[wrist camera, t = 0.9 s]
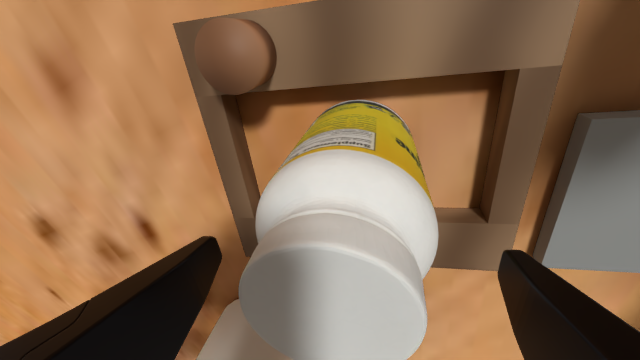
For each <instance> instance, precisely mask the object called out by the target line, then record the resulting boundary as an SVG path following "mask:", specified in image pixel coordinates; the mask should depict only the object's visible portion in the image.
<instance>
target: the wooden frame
mask: <svg viewBox="0 0 640 360" xmlns="http://www.w3.org/2000/svg"><path fill="white" fill-rule="evenodd" d="M579 2H580V0H317V1H311V2H305V3H299V4H292V5H286V6H280V7H273V8H267V9H261V10H255V11H248V12H242V13H236V14H230V15H223V16H217V17H211V18H204V19H198V20H192V21H186V22H179V23H173V26H174V29H175V32H176V35H177V39H178V42H179V45H180V48H181V51H182V54H183V58H184V61H185V64H186V67H187V70H188V74H189V77H190V80H191V83H192V86H193V89H194V93H195V96H196V99H197V102H198V105H199V109H200V112H201V115H202V118H203V121H204V125H205V128H206V131H207V134H208V137H209V140H210V144H211V147H212V150H213V153H214V156H215V160H216V163H217V166H218V169H219V172H220V175H221V179H222V182H223V185H224V188H225V191H226V195H227V198H228V201H229V204H230V207H231V210H232V214H233V217H234V220H235V223H236V226H237V230H238V233H239V236H240V239H241V242H242V245H243V249H244V252H245V255H246V257H251V256H252V254H253V252H254V250H255V249H256V247H257V245H258V240H257V236H256V228H255V223H256V212H257V207H258V203H259V200H260V198H261V197H260V193H259V189H258V185H257V181H256V177H255V173H254V169H253V165H252V161H251V157H250V153H249V149H248V145H247V141H246V137H245V133H244V129H243V125H242V121H241V117H240V113H239V109H238V105H237V101H236V97H235V95H239V94H243V93H249V92H261V91H272V90H283V89H295V88H306V87H318V86H329V85H341V84H352V83H364V82H375V81H386V80H398V79H409V78H421V77H432V76H444V75H455V74H467V73H478V72H490V71H501V70H505V74H504V79H503V85H502V90H501V95H500V101H499V106H498V112H497V117H496V122H495V128H494V133H493V139H492V144H491V149H490V155H489V160H488V166H487V171H486V176H485V182H484V187H483V193H482V198H481V203H480V208H434V210H435V214H436V218H437V224H438V246H437V251H436V255H435V258H434V261H433V263H432V265H431V267H435V268H452V269H469V270H486V271H498V268H499V264H500V260H501V257H502V253H503V251H504V250H512V248H513V244H514V241H515V237H516V233H517V230H518V226H519V222H520V219H521V215H522V211H523V208H524V204H525V200H526V197H527V193H528V189H529V186H530V182H531V178H532V175H533V171H534V167H535V164H536V160H537V156H538V153H539V149H540V145H541V142H542V138H543V134H544V131H545V127H546V123H547V120H548V116H549V112H550V109H551V105H552V101H553V98H554V94H555V90H556V87H557V83H558V79H559V76H560V72H561V68H562V65H563V61H564V57H565V54H566V50H567V46H568V43H569V39H570V35H571V31H572V28H573V24H574V20H575V17H576V13H577V9H578V6H579Z"/></svg>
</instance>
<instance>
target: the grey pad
mask: <svg viewBox="0 0 640 360" xmlns="http://www.w3.org/2000/svg"><path fill="white" fill-rule="evenodd" d="M533 257H534V259H535V260H537V261H538V262H539V263H541V264H542V265H544V266H545V267H547V268H559V269H578V270H596V271H615V272H634V273H640V110H635V111H616V112H597V113H578V116H577V119H576V122H575V125H574V128H573V131H572V134H571V137H570V141H569V144H568V147H567V150H566V153H565V156H564V159H563V162H562V165H561V169H560V172H559V175H558V178H557V181H556V184H555V187H554V190H553V193H552V196H551V200H550V203H549V206H548V209H547V212H546V215H545V218H544V221H543V224H542V228H541V231H540V234H539V237H538V240H537V243H536V246H535V249H534V252H533Z"/></svg>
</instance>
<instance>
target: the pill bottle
mask: <svg viewBox="0 0 640 360" xmlns="http://www.w3.org/2000/svg"><path fill="white" fill-rule="evenodd" d="M255 228H256V236H257V240H258V245H257V247H256V249H255V250H254V252H253V254H252V256H251V258H250V260H249V262H248V264H247V265H246V267H245V269H244V271H243V273H242V276H241V279H240V282H239V301H240V306H241V309H242V311H243V314H244V316H245V318H246V319H247V321H248V323H249V324H250V325H251V327H252V328H253V329H254V330H255V331H256V333H257V334H258V335H259V336H260V337H261V338H262V339H263V340H264V341H266V342H267V343H268V344H269V345H271V346H272V347H273V348H275V349H276V350H278V351H279V352H281V353H282V354H284V355H286V356H288V357H290V358H292V359H294V360H406V359H407V358H409V357H410V356H411V355H412V354H413V353H414V352H415V351H416V350H417V349H418V348H419V346H420V344H421V343H422V341H423V338H424V336H425V333H426V328H427V310H426V302H425V296H424V288H423V281H422V280H423V278H424V277H425V276H426V274H427V273H428V271H429V269H430V267H431V265H432V263H433V261H434V258H435V255H436V251H437V246H438V224H437V218H436V214H435V210H434V206H433V203H432V200H431V197H430V194H429V191H428V188H427V185H426V181H425V178H424V174H423V171H422V167H421V164H420V161H419V157H418V154H417V151H416V147H415V144H414V141H413V138H412V135H411V133H410V130H409V128H408V127H407V125H406V123H405V122H404V121H403V119H402V118H401V117H400V116H399V115H398V114H397V113H395V112H394V111H393V110H391V109H390V108H388V107H387V106H385V105H383V104H380V103H377V102H373V101H368V100H349V101H345V102H341V103H338V104H336V105H334V106H332V107H330V108H329V109H327V110H326V111H324V112H323V113H322V114H321V115H320V116H319V117H318V118H317V119H316V120H315V121H314V123H313V124H312V125H311V127H310V128H309V129H308V130H307V131H306V133H305V134H304V136H303V137H302V138H301V140H300V141H299V142H298V144H297V145H296V146H295V148H294V149H293V150H292V152H291V153H290V154H289V156H288V157H287V158H286V160H285V161H284V163H283V164H282V165H281V167H280V168H279V169H278V170H277V172H276V173H275V174H274V176H273V177H272V178H271V180H270V181H269V183H268V185H267V186H266V188H265V190H264V192H263V193H262V195H261V198H260V200H259V203H258V207H257V212H256V223H255Z"/></svg>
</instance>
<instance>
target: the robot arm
mask: <svg viewBox="0 0 640 360" xmlns="http://www.w3.org/2000/svg"><path fill="white" fill-rule="evenodd" d="M221 260H222V254H221V251H220V248H219V245H218V243H217V240H216V238H215V237H212V236H203V237H201V238H199V239H197V240H195V241H193V242H192V243H190V244H188V245H186V246H184V247H183V248H181V249H179V250H177V251H175V252H174V253H172V254H170V255H168V256H167V257H165V258H163V259H161V260H159V261H158V262H156V263H154V264H152V265H150V266H149V267H147V268H145V269H143V270H141V271H140V272H138V273H136V274H134V275H132V276H131V277H129V278H127V279H125V280H123V281H122V282H120V283H118V284H116V285H114V286H113V287H111V288H109V289H107V290H106V291H104V292H102V293H100V294H98V295H97V296H95V297H93V298H91V299H90V300H87V301H86V302H84V303H82V304H80V305H79V306H77V307H75V308H73V309H71V310H69V311H68V312H66V313H64V314H62V315H60V316H58V317H57V318H55V319H53V320H51V321H49V322H47V323H45V324H43V325H41V326H39V327H37V328H35V329H33V330H32V331H30V332H28V333H26V334H24V335H22V336H20V337H18V338H16V339H14V340H12V341H10V342H8V343H6V344H4V345H2V346H0V360H175V358H176V356H177V354H178V352H179V350H180V348H181V346H182V344H183V342H184V340H185V339H186V337H187V335H188V333H189V331H190V329H191V327H192V325H193V323H194V321H195V319H196V317H197V316H198V314H199V312H200V310H201V308H202V306H203V304H204V302H205V299H206V297H207V295H208V293H209V290H210V288H211V285H212V283H213V280H214V278H215V275H216V273H217V270H218V268H219V265H220V263H221ZM498 280H499V283H500V287H501V291H502V294H503V298H504V301H505V305H506V308H507V312H508V315H509V319H510V322H511V325H512V329H513V332H514V335H515V338H516V340H517V343H518V345H519V348H520V350H521V353H522V355H523V357H524V360H640V332H639V331H638V330H636V329H635V328H633V327H632V326H630V325H629V324H627V323H626V322H625V321H623V320H622V319H620V318H619V317H617V316H616V315H614V314H613V313H612V312H610V311H609V310H607V309H606V308H604V307H603V306H601V305H600V304H599V303H597V302H596V301H594V300H593V299H591V298H590V297H588V296H587V295H586V294H584V293H583V292H581V291H580V290H578V289H577V288H575V287H574V286H573V285H571V284H570V283H568V282H567V281H565V280H564V279H563V278H561V277H560V276H558V275H557V274H555V273H554V272H552V271H551V270H550V269H548V268H547V267H545V266H544V265H542V264H541V263H539V262H538V261H537V260H535V259H534V258H532V257H531V256H529V255H528V254H526V253H525V252H523V251H521V250H504V251H503V253H502V257H501V260H500V264H499V268H498Z"/></svg>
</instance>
